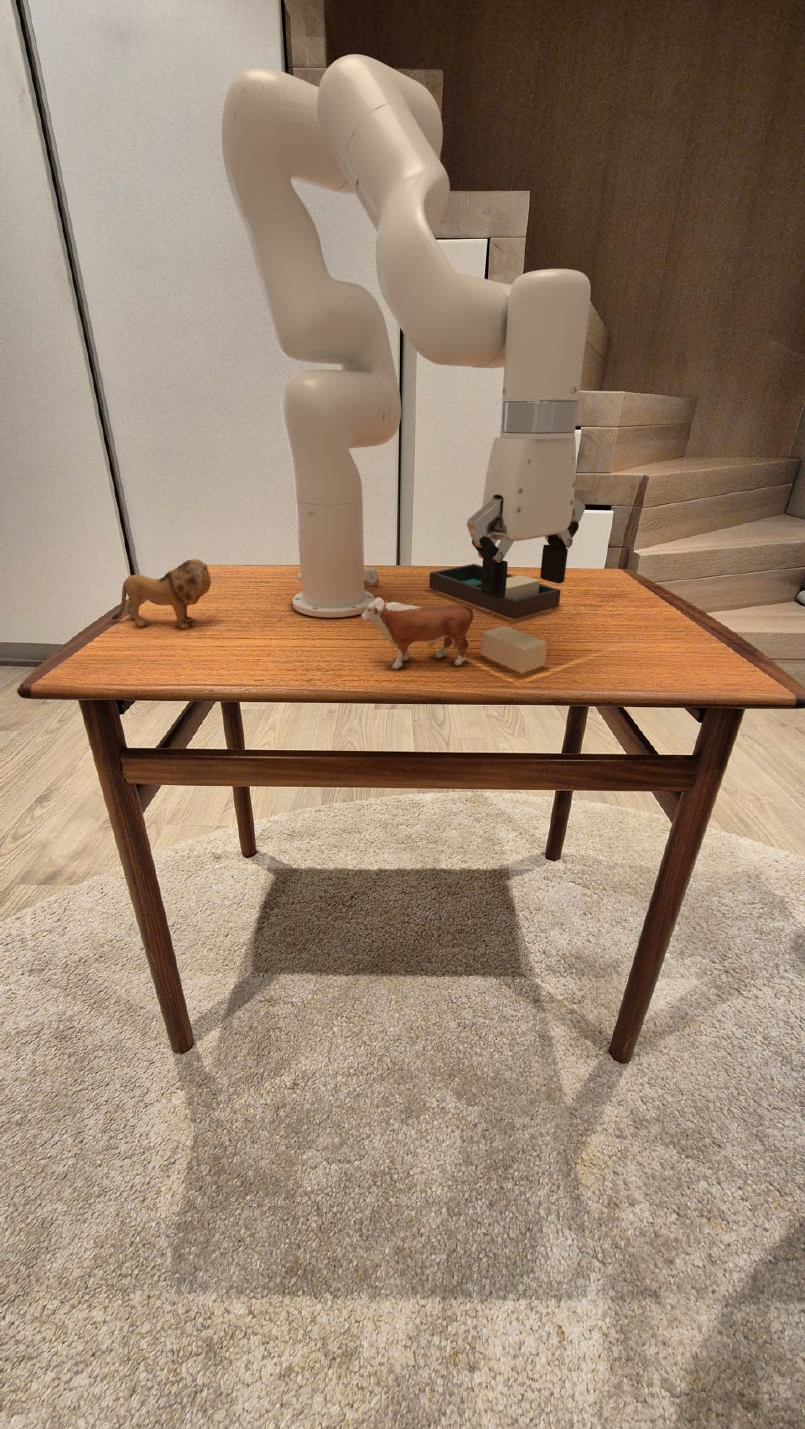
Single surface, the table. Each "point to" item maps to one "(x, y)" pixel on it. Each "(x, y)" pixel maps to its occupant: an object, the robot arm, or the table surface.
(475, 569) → the dark shallow tray
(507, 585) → the beige block
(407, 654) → the bull figurine
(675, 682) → the table surface
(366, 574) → the grey round piece
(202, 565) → the lion figurine
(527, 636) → the tan rectangular block
